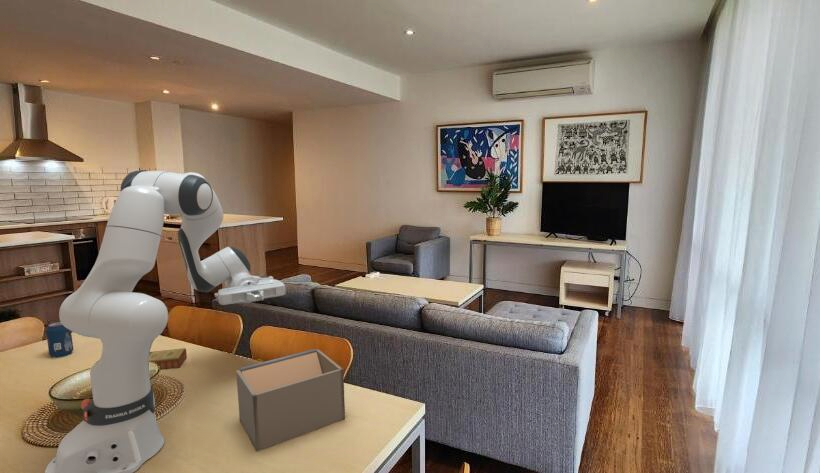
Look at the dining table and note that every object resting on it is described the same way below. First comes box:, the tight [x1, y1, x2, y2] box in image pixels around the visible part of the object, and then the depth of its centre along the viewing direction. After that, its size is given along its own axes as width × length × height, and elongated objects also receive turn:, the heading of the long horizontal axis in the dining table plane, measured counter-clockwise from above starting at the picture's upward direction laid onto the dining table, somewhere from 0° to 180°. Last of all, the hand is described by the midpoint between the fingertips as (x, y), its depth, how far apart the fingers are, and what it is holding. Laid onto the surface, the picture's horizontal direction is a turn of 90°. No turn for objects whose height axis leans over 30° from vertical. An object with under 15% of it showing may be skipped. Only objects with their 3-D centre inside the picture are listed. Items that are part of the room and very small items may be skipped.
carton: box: [149, 347, 188, 371], centre depth 146 cm, size 8×16×4 cm, turn 104°
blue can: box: [45, 320, 74, 359], centre depth 155 cm, size 7×7×12 cm
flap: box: [239, 348, 322, 393], centre depth 115 cm, size 21×1×14 cm
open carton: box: [235, 349, 346, 452], centre depth 112 cm, size 23×16×14 cm
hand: (258, 298), depth 129 cm, fingers closed
